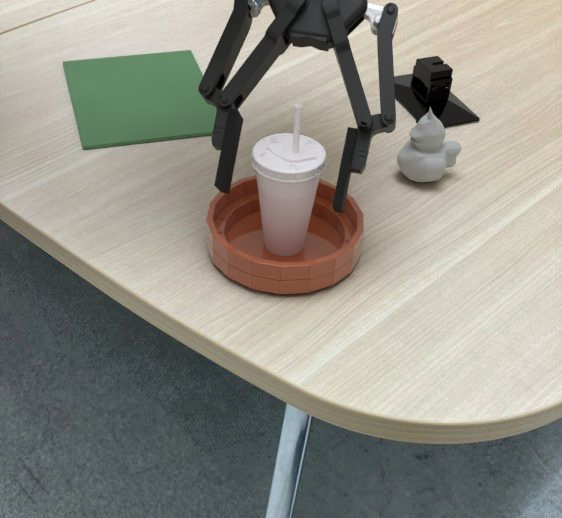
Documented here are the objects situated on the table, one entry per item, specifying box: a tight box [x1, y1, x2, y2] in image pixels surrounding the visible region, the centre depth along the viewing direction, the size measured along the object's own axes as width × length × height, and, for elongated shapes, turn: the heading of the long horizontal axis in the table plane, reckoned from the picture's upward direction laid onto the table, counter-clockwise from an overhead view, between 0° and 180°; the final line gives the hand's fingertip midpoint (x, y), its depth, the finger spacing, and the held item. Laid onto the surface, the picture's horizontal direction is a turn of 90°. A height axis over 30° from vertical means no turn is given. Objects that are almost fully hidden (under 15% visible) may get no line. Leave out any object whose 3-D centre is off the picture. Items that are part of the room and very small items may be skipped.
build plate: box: [394, 55, 481, 129], centre depth 93 cm, size 12×7×5 cm, turn 22°
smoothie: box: [250, 103, 327, 256], centre depth 68 cm, size 6×6×14 cm
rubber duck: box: [396, 107, 462, 183], centre depth 80 cm, size 5×7×8 cm
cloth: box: [62, 49, 217, 150], centre depth 92 cm, size 16×20×1 cm
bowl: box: [205, 175, 365, 295], centre depth 73 cm, size 14×14×4 cm
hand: (279, 199), depth 66 cm, fingers open, 9 cm apart
